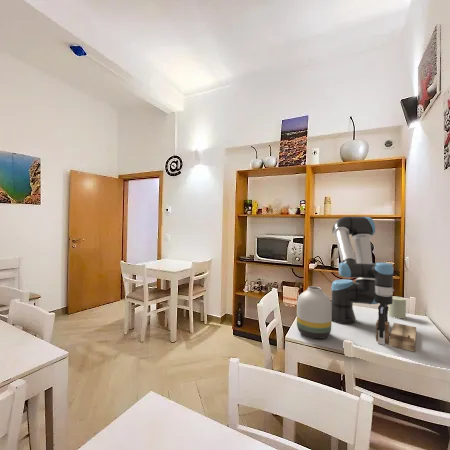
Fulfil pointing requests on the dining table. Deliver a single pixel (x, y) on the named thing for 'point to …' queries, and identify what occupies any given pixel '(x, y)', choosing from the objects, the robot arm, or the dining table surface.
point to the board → (404, 331)
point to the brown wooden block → (391, 334)
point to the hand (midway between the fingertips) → (382, 340)
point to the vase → (314, 313)
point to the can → (398, 307)
